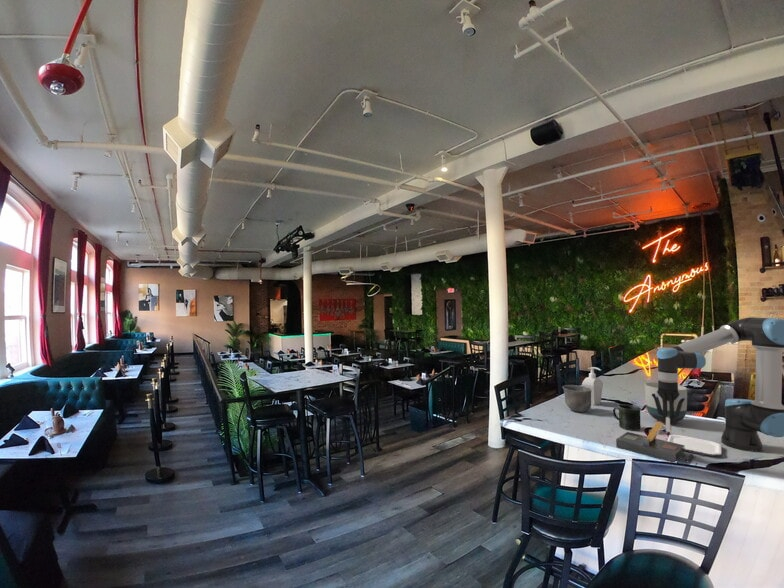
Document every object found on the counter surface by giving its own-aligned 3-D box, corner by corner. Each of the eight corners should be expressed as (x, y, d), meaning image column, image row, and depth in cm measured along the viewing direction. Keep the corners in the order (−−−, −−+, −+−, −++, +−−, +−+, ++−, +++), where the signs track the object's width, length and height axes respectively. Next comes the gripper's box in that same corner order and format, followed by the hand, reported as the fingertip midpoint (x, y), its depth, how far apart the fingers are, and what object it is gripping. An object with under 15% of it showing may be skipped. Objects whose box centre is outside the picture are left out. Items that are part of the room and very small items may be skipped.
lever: (653, 440, 181) (664, 423, 178) (648, 445, 176) (659, 427, 173) (649, 437, 183) (659, 420, 180) (643, 441, 177) (654, 424, 174)
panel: (684, 453, 175) (684, 439, 175) (675, 463, 165) (675, 448, 165) (627, 439, 193) (627, 426, 194) (616, 447, 183) (616, 433, 183)
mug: (635, 432, 203) (635, 411, 203) (608, 425, 215) (608, 404, 216) (645, 429, 209) (644, 407, 209) (618, 422, 221) (617, 402, 222)
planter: (641, 415, 235) (640, 381, 235) (679, 418, 228) (678, 383, 228) (651, 425, 216) (651, 388, 216) (694, 429, 209) (693, 391, 209)
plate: (721, 447, 184) (721, 442, 184) (721, 460, 168) (721, 455, 168) (669, 437, 197) (669, 433, 197) (665, 448, 182) (665, 444, 182)
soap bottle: (596, 407, 253) (596, 369, 254) (582, 403, 261) (581, 367, 262) (605, 404, 260) (605, 367, 260) (591, 401, 268) (590, 365, 269)
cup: (557, 410, 246) (557, 387, 246) (568, 405, 258) (568, 383, 258) (586, 416, 233) (585, 392, 233) (596, 410, 245) (595, 388, 245)
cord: (693, 456, 172) (693, 454, 172) (688, 462, 166) (688, 459, 166) (690, 455, 173) (690, 453, 173) (685, 461, 166) (685, 459, 166)
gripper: (687, 382, 171) (688, 432, 171) (653, 377, 181) (654, 425, 181) (683, 384, 166) (684, 436, 166) (649, 379, 176) (650, 429, 176)
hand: (668, 431), depth 173 cm, fingers closed
